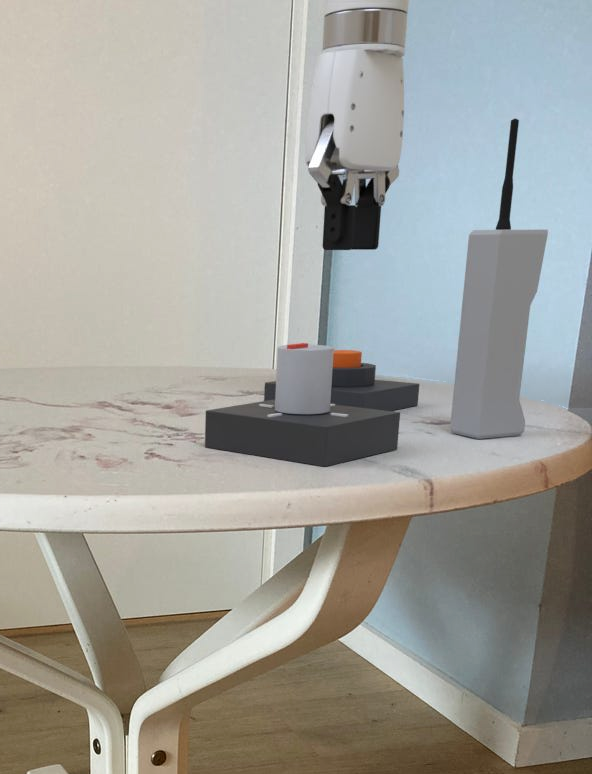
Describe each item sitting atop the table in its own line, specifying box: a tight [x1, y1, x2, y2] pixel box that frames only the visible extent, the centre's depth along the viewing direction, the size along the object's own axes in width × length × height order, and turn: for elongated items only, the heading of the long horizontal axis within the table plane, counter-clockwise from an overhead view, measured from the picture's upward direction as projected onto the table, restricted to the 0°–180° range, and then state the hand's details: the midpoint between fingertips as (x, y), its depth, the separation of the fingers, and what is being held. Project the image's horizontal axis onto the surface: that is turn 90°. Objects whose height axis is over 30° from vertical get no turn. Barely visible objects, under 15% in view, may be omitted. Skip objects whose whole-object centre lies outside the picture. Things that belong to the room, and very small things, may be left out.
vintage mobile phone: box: [449, 117, 549, 440], centre depth 92 cm, size 4×5×25 cm
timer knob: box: [275, 342, 335, 415], centre depth 88 cm, size 4×4×5 cm
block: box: [263, 362, 420, 411], centre depth 113 cm, size 12×10×4 cm
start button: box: [333, 349, 363, 368], centre depth 112 cm, size 4×4×2 cm
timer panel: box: [204, 399, 401, 468], centre depth 90 cm, size 12×10×3 cm
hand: (350, 247), depth 108 cm, fingers open, 3 cm apart
